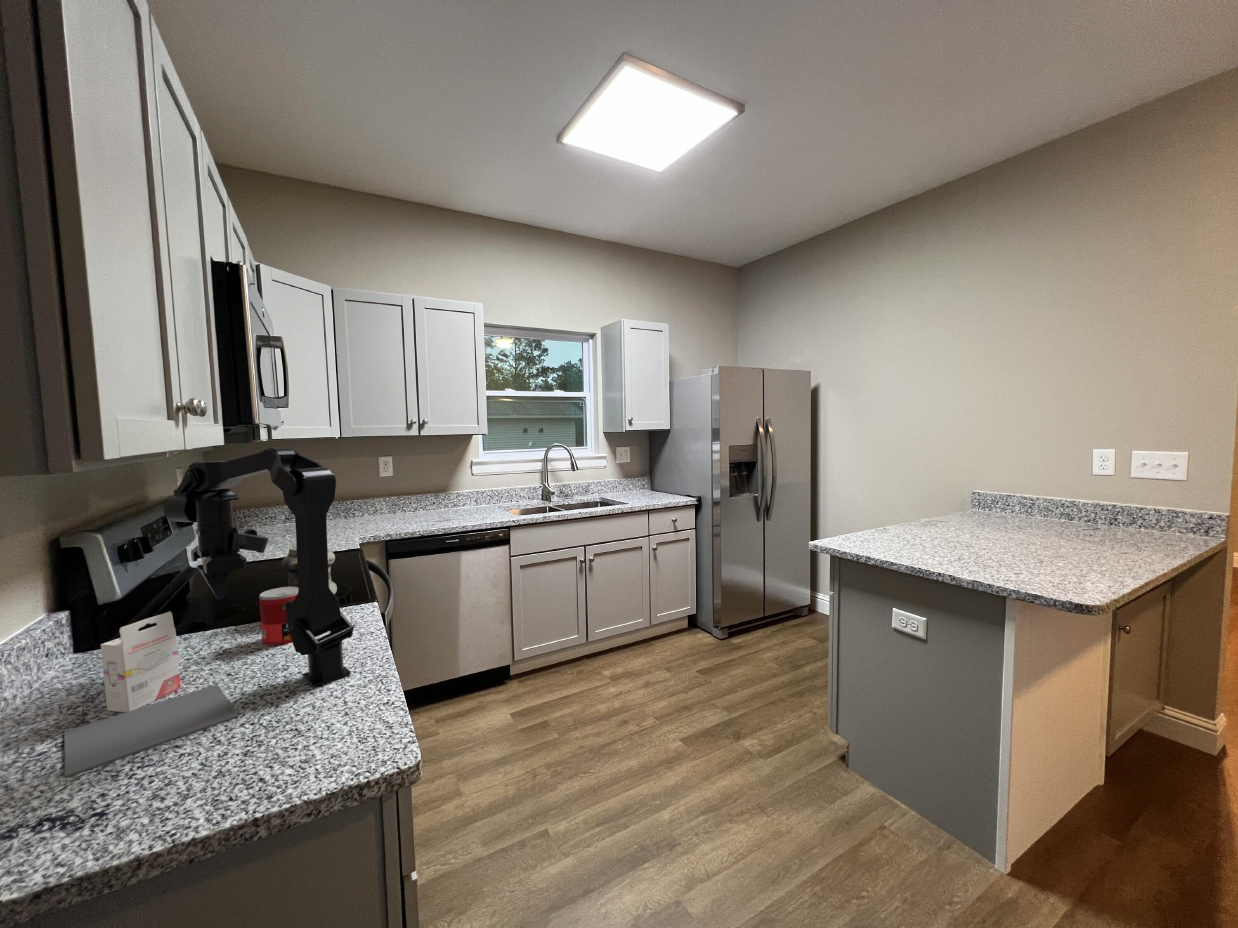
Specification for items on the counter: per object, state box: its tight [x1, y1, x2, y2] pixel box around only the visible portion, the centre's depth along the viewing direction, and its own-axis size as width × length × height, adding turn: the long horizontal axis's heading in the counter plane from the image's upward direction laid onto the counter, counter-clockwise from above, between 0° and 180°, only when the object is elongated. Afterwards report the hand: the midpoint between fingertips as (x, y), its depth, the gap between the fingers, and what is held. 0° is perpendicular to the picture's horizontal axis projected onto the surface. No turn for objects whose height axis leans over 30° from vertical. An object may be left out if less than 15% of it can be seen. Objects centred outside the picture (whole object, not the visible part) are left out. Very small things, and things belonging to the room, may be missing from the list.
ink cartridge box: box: [100, 611, 182, 713], centre depth 88 cm, size 9×5×15 cm, turn 168°
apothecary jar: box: [281, 544, 338, 595], centre depth 130 cm, size 12×12×18 cm
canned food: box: [259, 586, 298, 646], centre depth 114 cm, size 8×8×11 cm
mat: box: [64, 684, 239, 778], centre depth 80 cm, size 16×19×1 cm
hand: (220, 598), depth 102 cm, fingers closed
